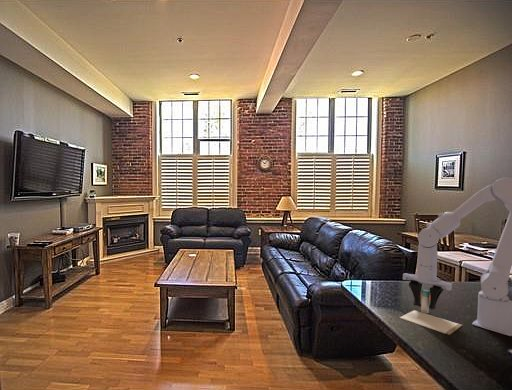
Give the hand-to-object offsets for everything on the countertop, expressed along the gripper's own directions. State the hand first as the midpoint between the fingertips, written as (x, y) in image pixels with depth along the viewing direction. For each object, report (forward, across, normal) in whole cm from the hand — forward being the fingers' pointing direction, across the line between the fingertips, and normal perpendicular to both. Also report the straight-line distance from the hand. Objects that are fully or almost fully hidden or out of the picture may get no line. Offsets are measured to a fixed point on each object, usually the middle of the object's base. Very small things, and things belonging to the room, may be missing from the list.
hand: (425, 306), depth 106 cm
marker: (+2, 0, 0) cm, 2 cm away
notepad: (+2, -4, +7) cm, 9 cm away
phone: (+3, +5, -12) cm, 13 cm away
